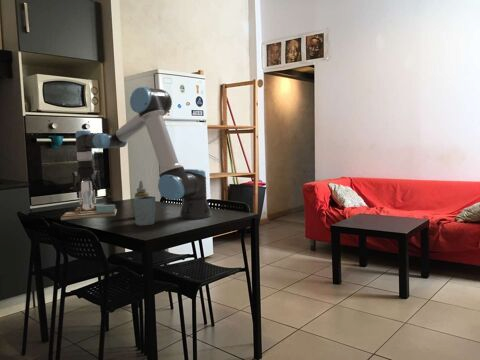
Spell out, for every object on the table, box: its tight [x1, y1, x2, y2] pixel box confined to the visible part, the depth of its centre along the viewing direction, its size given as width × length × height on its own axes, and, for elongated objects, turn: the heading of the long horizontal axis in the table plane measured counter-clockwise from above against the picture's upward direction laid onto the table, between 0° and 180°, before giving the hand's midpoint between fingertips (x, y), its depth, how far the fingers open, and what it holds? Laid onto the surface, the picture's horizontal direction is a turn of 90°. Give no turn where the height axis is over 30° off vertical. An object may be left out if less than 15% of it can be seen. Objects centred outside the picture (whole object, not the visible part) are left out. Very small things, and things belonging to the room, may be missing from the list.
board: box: [60, 205, 118, 221], centre depth 222 cm, size 17×26×4 cm, turn 103°
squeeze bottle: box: [134, 180, 149, 198], centre depth 210 cm, size 8×8×18 cm
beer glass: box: [79, 180, 95, 210], centre depth 223 cm, size 7×7×15 cm
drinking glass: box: [132, 195, 156, 226], centre depth 193 cm, size 10×10×12 cm
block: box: [95, 204, 116, 214], centre depth 218 cm, size 2×9×4 cm, turn 103°
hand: (87, 203), depth 224 cm, fingers closed on beer glass, 6 cm apart
